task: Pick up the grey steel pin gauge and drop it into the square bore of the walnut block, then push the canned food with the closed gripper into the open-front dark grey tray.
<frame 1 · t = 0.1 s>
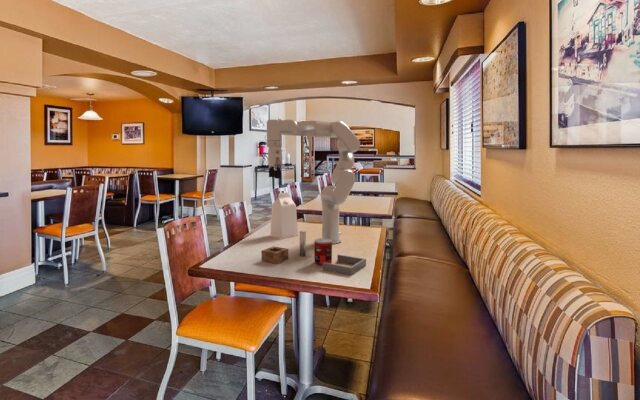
hand: (274, 177, 191), 37 cm above the table, tool pointing down, fingers open, 9 cm apart
canned food: (323, 264, 169), on the table
block: (275, 260, 174), on the table
milk: (284, 235, 224), on the table
tray: (344, 267, 163), on the table
pin: (302, 255, 182), on the table
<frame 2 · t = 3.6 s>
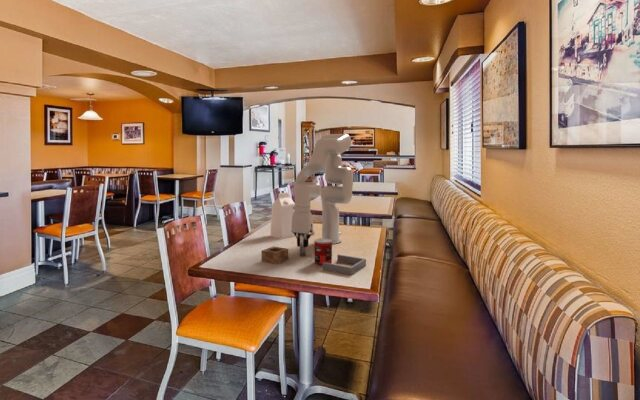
hand: (302, 246, 181), 5 cm above the table, tool pointing down, fingers closed on pin, 3 cm apart
pin: (302, 255, 182), on the table, touching gripper
everything else where it was.
when the fingers open (7 cm above the table, at t = 8.1 s): pin drops 2 cm, resting in block.
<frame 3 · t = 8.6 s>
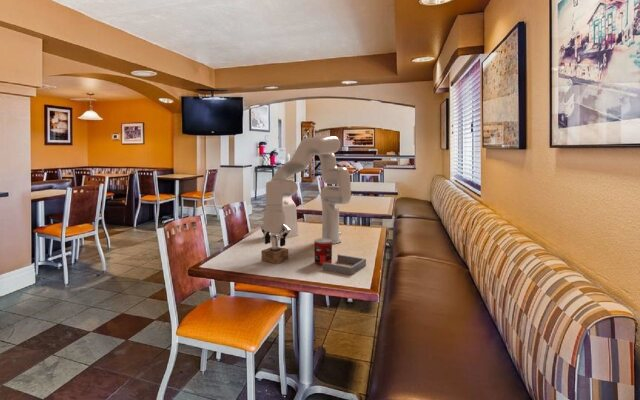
hand: (275, 244, 173), 8 cm above the table, tool pointing down, fingers open, 8 cm apart
pin: (275, 260, 174), resting in block
everything else where it was.
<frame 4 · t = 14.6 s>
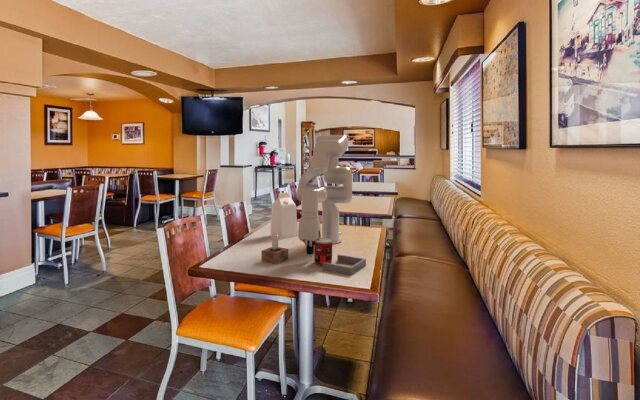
hand: (309, 254, 172), 3 cm above the table, tool pointing down, fingers closed
canned food: (323, 263, 169), on the table, touching gripper
everything else where it was.
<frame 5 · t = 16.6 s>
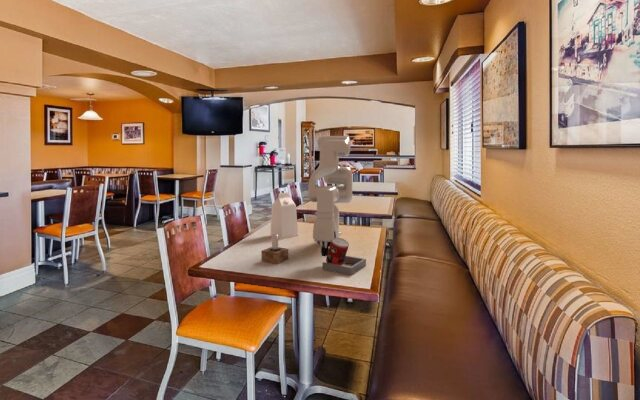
hand: (324, 255, 167), 4 cm above the table, tool pointing down, fingers closed
canned food: (333, 263, 166), point 1 cm above the table, touching gripper
everything else where it was.
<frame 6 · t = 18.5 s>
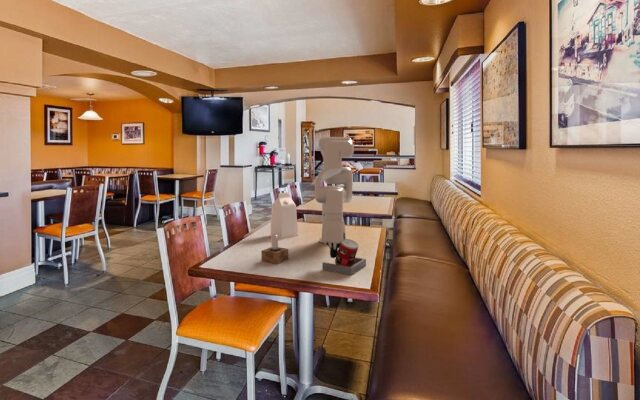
hand: (333, 257, 165), 4 cm above the table, tool pointing down, fingers closed
canned food: (343, 264, 164), point 1 cm above the table, touching gripper
everything else where it was.
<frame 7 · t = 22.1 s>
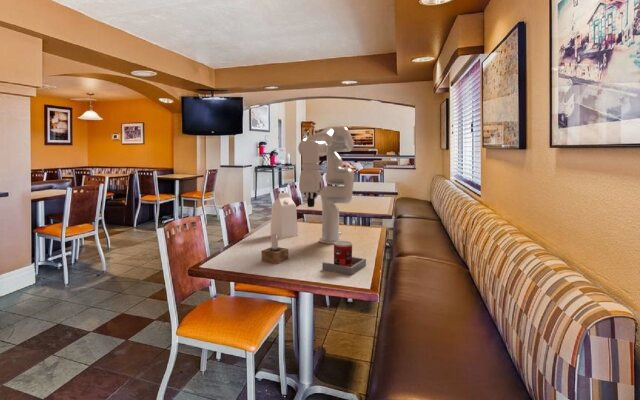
hand: (310, 206, 174), 25 cm above the table, tool pointing down, fingers closed
canned food: (342, 267, 164), on the table
everything else where it was.
at the end: pin 0.0 cm off-centre on the block, point 0.0 cm above the block's base; canned food inside the target area (1.3 cm from its centre), on the table; canned food tilted 1° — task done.
